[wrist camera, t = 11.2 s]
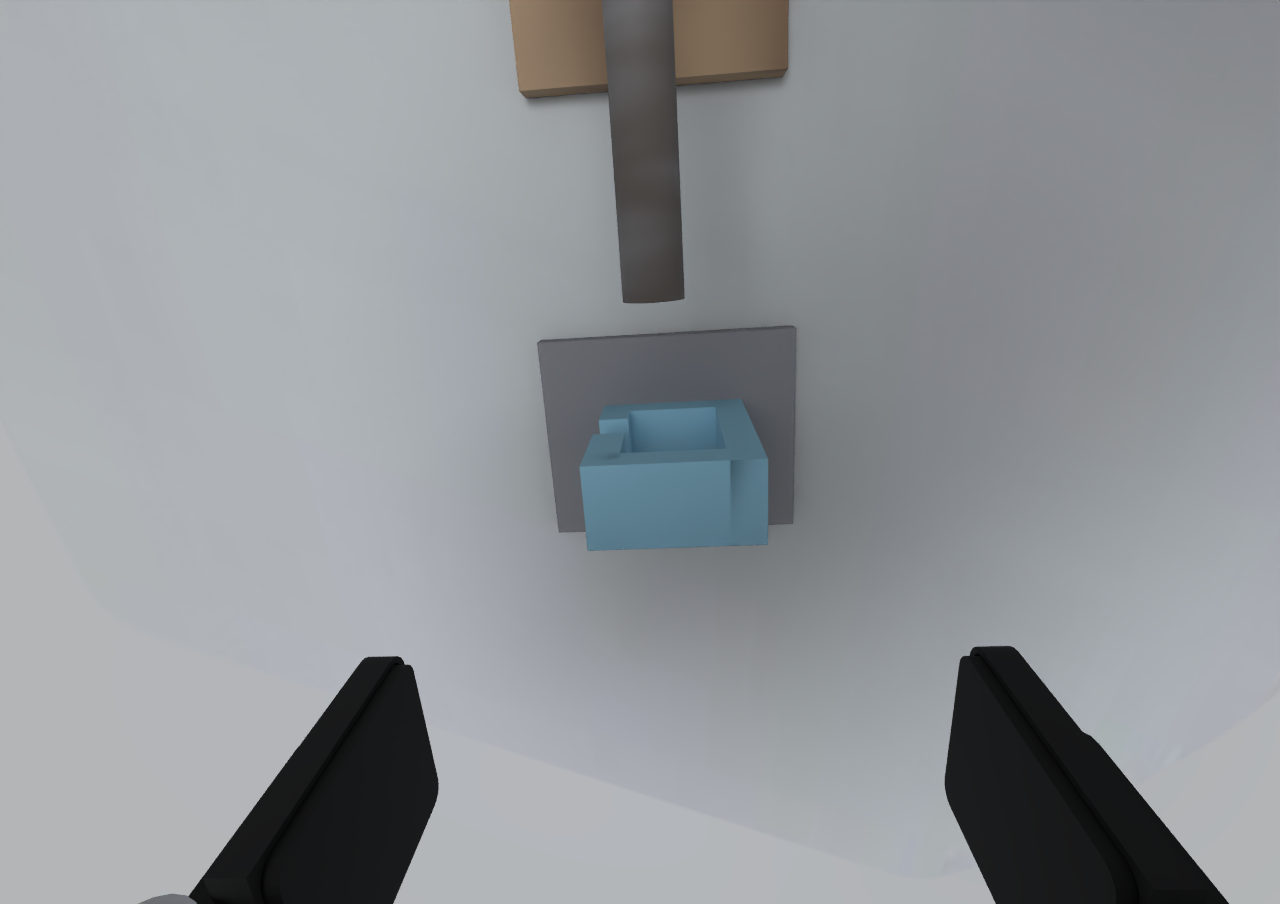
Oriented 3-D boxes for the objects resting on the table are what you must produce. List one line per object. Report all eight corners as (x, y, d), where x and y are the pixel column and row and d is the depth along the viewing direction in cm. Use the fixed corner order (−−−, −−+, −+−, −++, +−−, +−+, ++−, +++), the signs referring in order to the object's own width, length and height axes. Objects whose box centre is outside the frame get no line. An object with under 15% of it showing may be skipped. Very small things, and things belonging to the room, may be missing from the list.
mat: (792, 325, 27) (795, 328, 26) (790, 516, 30) (793, 523, 29) (540, 340, 28) (537, 342, 27) (561, 525, 30) (558, 532, 30)
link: (741, 398, 27) (768, 458, 20) (742, 463, 28) (768, 544, 21) (604, 405, 28) (579, 466, 20) (609, 469, 29) (587, 550, 21)
